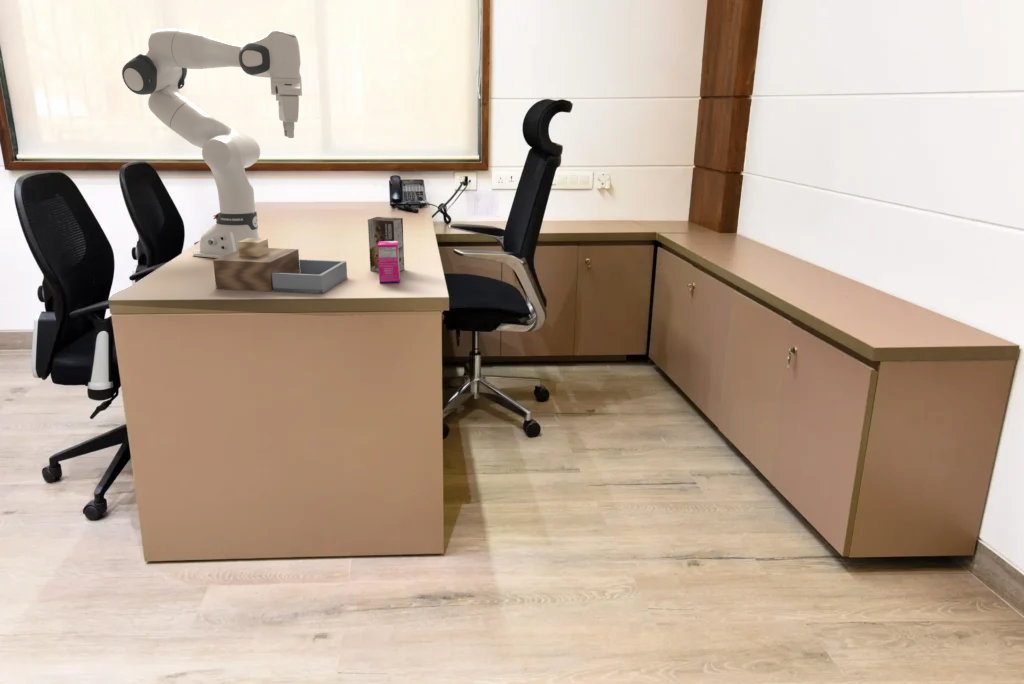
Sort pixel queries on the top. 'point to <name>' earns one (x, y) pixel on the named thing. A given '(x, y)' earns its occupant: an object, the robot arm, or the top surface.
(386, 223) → the coffee box
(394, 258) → the supplement box
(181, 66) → the robot arm
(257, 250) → the birch block
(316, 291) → the box
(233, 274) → the zigzag grain wood block
